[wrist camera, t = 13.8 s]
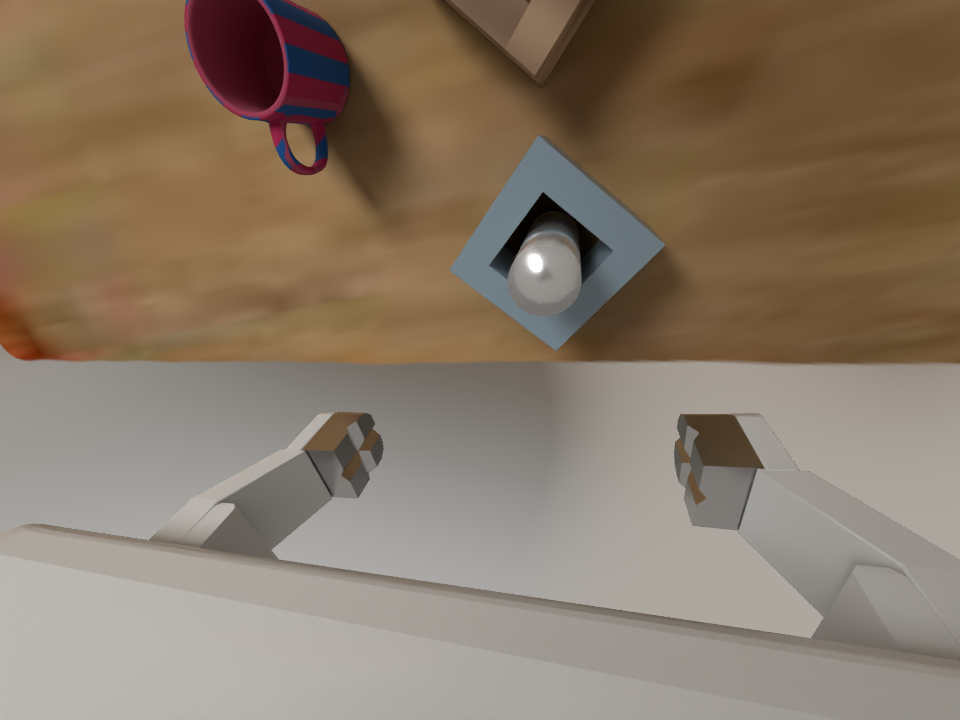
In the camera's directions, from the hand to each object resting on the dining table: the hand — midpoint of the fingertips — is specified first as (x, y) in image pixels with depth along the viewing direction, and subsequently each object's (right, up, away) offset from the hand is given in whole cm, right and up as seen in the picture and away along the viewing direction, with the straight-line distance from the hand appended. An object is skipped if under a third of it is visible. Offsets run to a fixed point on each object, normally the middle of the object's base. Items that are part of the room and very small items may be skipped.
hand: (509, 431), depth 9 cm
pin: (+5, +12, +19) cm, 23 cm away
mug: (-13, +22, +18) cm, 31 cm away
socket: (+5, +12, +19) cm, 23 cm away
